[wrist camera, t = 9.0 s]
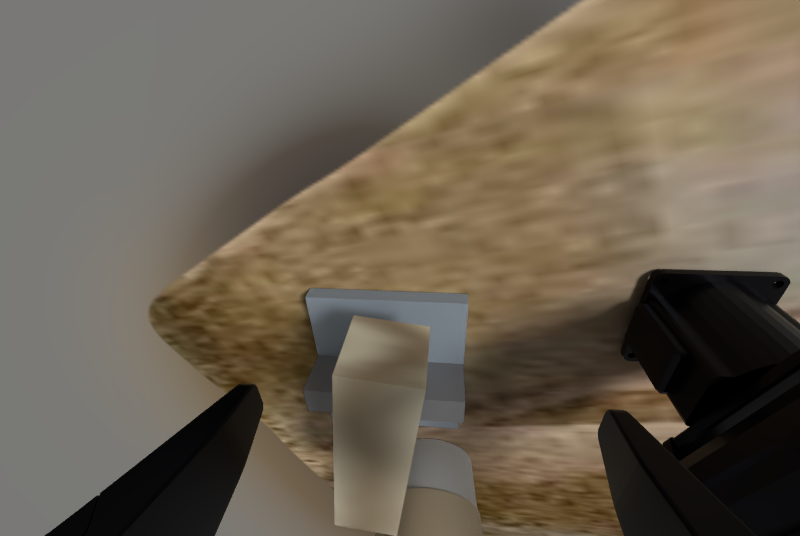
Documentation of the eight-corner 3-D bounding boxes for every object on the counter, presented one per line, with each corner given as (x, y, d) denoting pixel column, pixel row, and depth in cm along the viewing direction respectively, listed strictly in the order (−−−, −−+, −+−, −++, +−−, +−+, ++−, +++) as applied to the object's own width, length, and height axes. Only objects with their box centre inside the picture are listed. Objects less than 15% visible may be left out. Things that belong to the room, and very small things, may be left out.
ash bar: (430, 326, 18) (425, 390, 15) (403, 471, 26) (396, 536, 22) (353, 315, 18) (332, 375, 15) (349, 462, 26) (334, 524, 22)
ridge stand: (467, 293, 22) (471, 339, 18) (458, 417, 28) (459, 468, 25) (310, 288, 23) (286, 329, 19) (335, 407, 29) (320, 454, 26)
